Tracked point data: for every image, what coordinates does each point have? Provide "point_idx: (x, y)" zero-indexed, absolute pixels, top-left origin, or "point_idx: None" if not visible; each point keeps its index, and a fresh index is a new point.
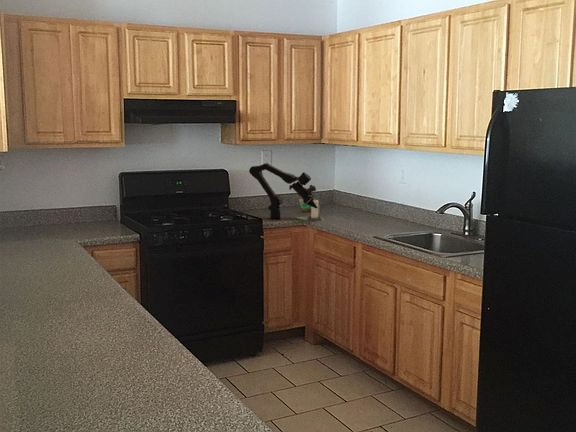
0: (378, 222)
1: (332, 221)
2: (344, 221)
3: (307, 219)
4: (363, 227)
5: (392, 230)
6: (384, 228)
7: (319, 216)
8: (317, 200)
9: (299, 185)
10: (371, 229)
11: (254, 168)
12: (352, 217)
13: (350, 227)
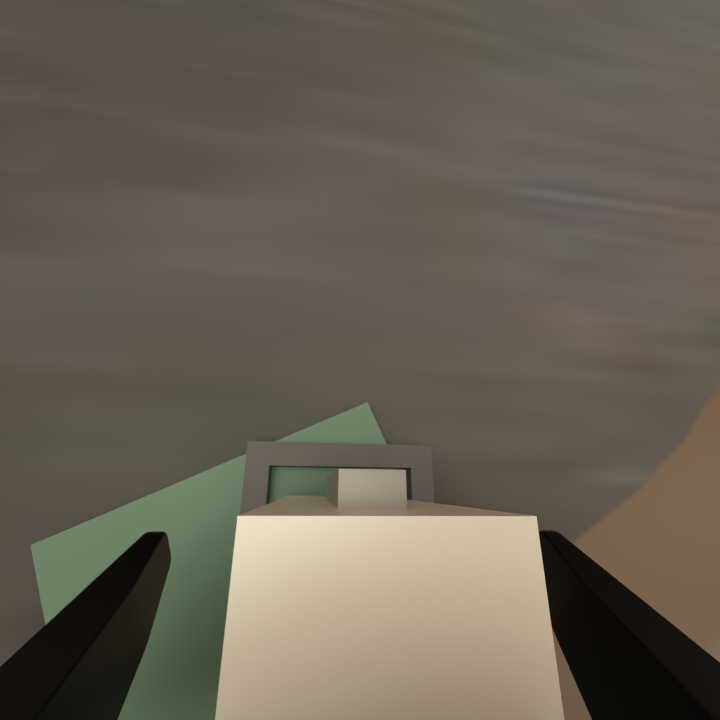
0: (404, 3)
1: (401, 321)
2: (386, 210)
3: None
4: (643, 124)
5: (682, 10)
6: (633, 27)
7: (257, 475)
8: (232, 564)
9: None
10: (699, 95)
11: None
12: (127, 111)
13: (679, 205)
